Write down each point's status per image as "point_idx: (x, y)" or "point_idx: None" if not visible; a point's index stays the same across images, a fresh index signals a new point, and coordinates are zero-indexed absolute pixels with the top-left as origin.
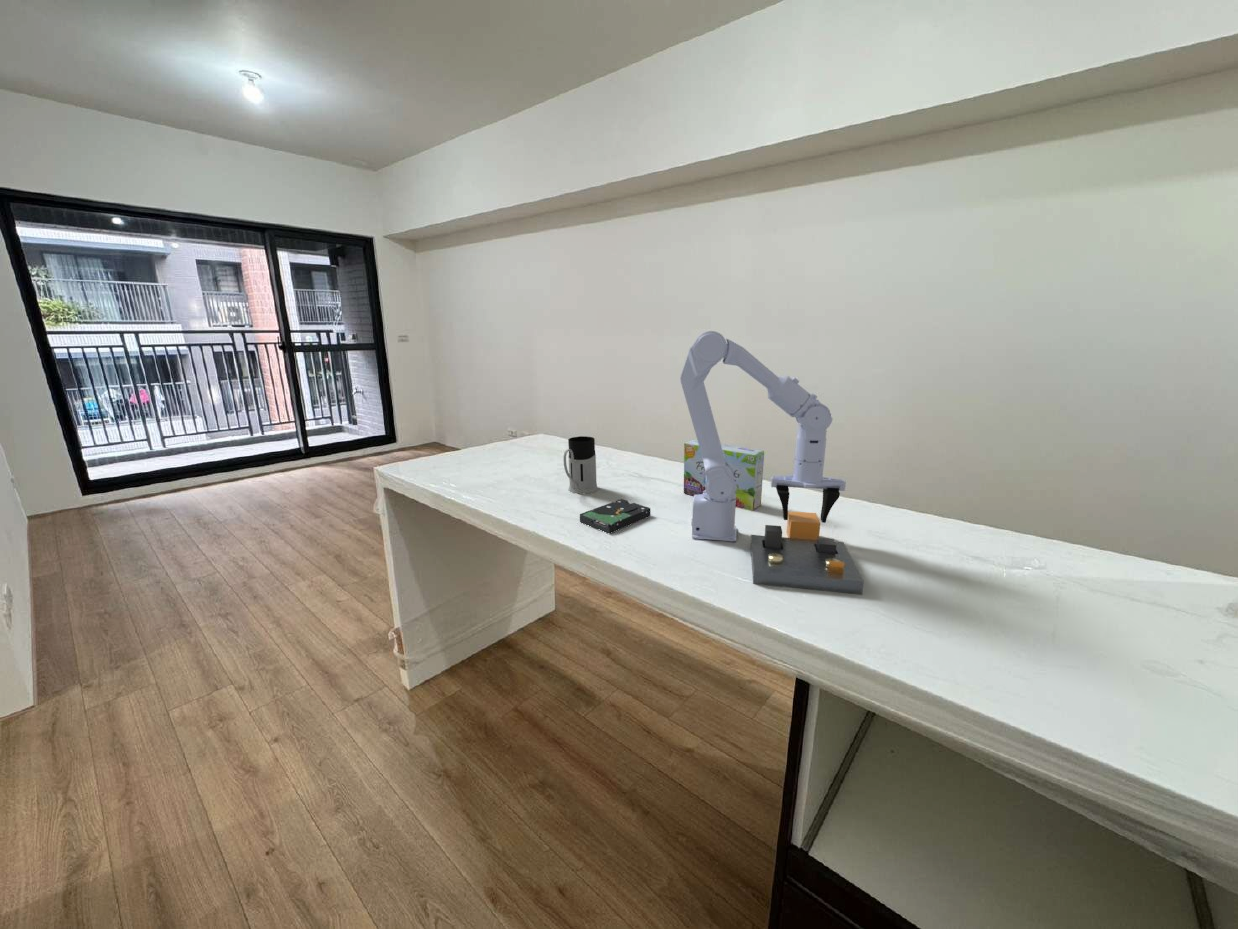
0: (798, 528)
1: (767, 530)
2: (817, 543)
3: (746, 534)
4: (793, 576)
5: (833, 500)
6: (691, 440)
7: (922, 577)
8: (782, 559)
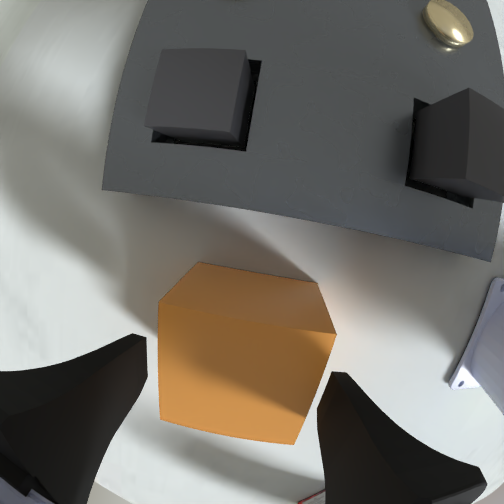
0: (286, 307)
1: None
2: (237, 114)
3: (439, 345)
4: None
5: (11, 378)
6: None
7: (18, 80)
8: (427, 4)
